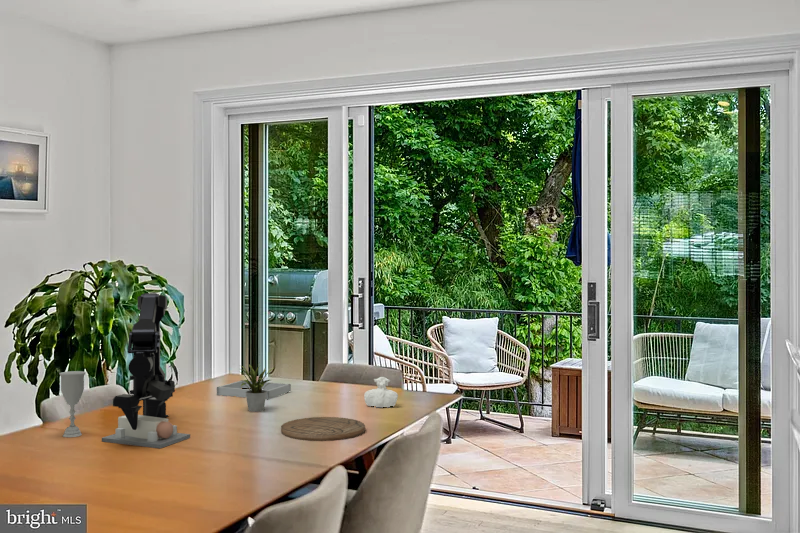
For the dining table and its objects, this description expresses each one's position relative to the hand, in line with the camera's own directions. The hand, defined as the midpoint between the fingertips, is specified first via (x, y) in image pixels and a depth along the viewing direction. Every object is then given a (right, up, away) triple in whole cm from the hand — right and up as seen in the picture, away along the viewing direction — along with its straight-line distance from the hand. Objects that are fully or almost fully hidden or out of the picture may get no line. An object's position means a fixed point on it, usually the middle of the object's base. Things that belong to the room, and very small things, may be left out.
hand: (143, 426), depth 210 cm
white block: (0, -3, 0) cm, 3 cm away
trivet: (+50, -4, +12) cm, 51 cm away
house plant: (+22, -4, +42) cm, 48 cm away
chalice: (-22, -4, +4) cm, 23 cm away
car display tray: (+17, -3, +73) cm, 75 cm away
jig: (+1, -4, 0) cm, 4 cm away
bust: (+66, -4, +50) cm, 83 cm away
